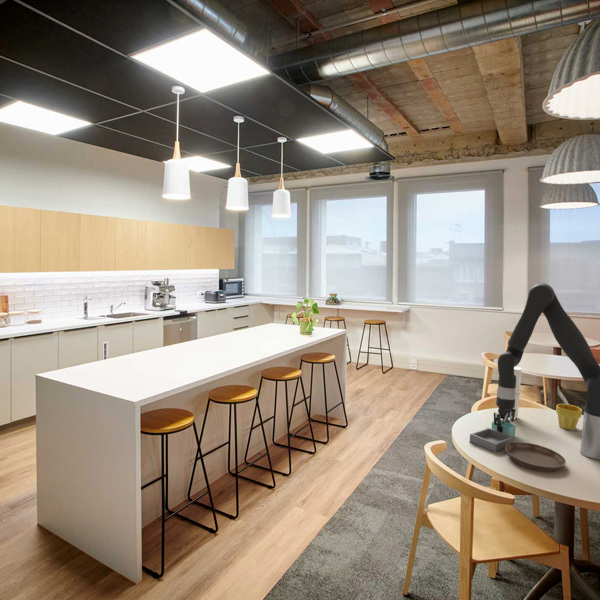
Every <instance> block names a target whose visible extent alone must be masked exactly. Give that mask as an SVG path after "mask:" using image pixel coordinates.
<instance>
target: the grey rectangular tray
mask: <svg viewBox="0 0 600 600" xmlns="http://www.w3.org/2000/svg"><path fill="white" fill-rule="evenodd" d="M514 439H515V437H512V436H509V435H507V434H504V433H501V432H498V431H496V430H493V429H492V428H490V427H487V428H484V429H481V430H478V431H475V432H472V433H470V434H469V443H471V444H474V445H475V446H478V447H480V448H482V449H483V448H484V449H486V450H487V451H490V452H493V453H497V452H500V451H502V450H506V449H505V447H506V445H507V444H510V443H515V442H514Z"/></svg>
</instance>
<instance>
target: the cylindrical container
mask: <svg viewBox="0 0 600 600" xmlns="http://www.w3.org/2000/svg"><path fill="white" fill-rule="evenodd" d="M522 370H523V368H522V367H519V366H515V367H514V375H515V376H516V398H515V408H514V409H516V411H515V417H514V418H517V419H518V418H519V406H520V397H521V396H520V395H521V385H522V384H521V382H522V381H521V380H522V372H523V371H522ZM511 417H512V416H511Z"/></svg>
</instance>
